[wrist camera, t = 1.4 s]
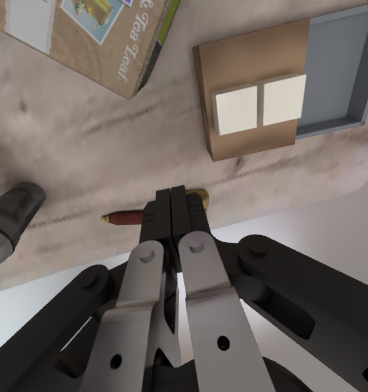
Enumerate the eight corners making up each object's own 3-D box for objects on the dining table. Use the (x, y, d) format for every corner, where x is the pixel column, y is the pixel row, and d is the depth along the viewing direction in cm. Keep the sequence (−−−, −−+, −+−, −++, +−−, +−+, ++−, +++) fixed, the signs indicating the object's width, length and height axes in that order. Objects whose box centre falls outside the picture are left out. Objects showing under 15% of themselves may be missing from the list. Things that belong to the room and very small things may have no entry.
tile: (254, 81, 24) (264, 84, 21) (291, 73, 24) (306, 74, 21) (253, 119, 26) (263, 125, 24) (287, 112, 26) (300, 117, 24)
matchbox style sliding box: (193, 47, 26) (198, 45, 21) (286, 25, 25) (310, 17, 21) (207, 149, 33) (213, 161, 29) (278, 133, 33) (294, 144, 29)
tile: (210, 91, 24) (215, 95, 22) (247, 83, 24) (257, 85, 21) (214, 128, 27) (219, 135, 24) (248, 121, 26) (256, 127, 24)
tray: (286, 25, 25) (302, 20, 22) (375, 3, 25) (404, -5, 22) (278, 133, 33) (289, 141, 30) (345, 119, 32) (363, 124, 29)
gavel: (104, 245, 40) (89, 205, 35) (110, 229, 44) (98, 191, 38) (208, 242, 40) (210, 202, 34) (205, 226, 44) (207, 188, 38)
